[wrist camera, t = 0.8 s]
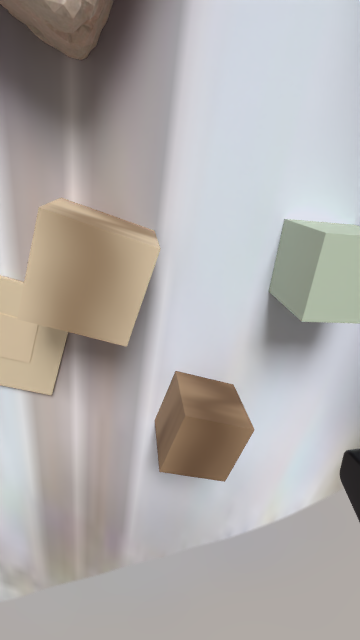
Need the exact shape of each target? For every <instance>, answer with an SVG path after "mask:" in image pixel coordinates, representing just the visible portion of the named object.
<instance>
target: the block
mask: <svg viewBox="0 0 360 640" xmlns="http://www.w3.org/2000/svg"><path fill="white" fill-rule="evenodd" d="M269 292H270V293H271V294H272V295H273V296H274V297H275V298H276V299H277V300H278V301H280V302H281V303H282V304H283V305H284V306H285V307H286V308H287V309H288V310H289V311H290V312H292V313H293V314H294V315H295V316H296V317H297V318H298V319H299V320H300V321H301V322H327V323H359V324H360V226H357V225H350V224H339V223H327V222H315V221H303V220H291V219H284V224H283V228H282V233H281V238H280V242H279V247H278V251H277V256H276V260H275V265H274V270H273V274H272V279H271V283H270V288H269Z"/></svg>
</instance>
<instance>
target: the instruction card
mask: <svg viewBox="0 0 360 640" xmlns="http://www.w3.org/2000/svg"><path fill="white" fill-rule="evenodd" d="M23 286H24V282H22V281H18V280H15V279H11V278H8V277H4V276H0V385H2V386H7V387H12V388H17V389H22V390H27V391H32V392H37V393H42V394H47V395H52V393H53V389H54V385H55V381H56V377H57V374H58V370H59V366H60V362H61V358H62V354H63V351H64V347H65V343H66V339H67V335H68V332H66V331H62V330H58V329H54V328H50V327H46V326H42V325H38V324H34V323H30V322H26V321H22V320H18V319H17V317H18V312H19V307H20V302H21V297H22V291H23Z"/></svg>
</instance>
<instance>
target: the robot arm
mask: <svg viewBox="0 0 360 640" xmlns="http://www.w3.org/2000/svg"><path fill="white" fill-rule="evenodd" d="M340 479H341V482H342V484H343V486H344V489H345V491H346V493H347V495H348V497H349V499H350V502H351V504H352V506H353V508H354V511H355V513H356V515H357V517H358V519H359V522H360V449H353V450H347V451H346V452H345V453H344V456H343V460H342V464H341V468H340Z"/></svg>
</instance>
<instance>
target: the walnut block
mask: <svg viewBox="0 0 360 640" xmlns="http://www.w3.org/2000/svg"><path fill="white" fill-rule="evenodd" d="M155 427H156V439H157V450H158V461H159V472H165V473H171V474H178V475H185V476H191V477H198V478H205V479H211V480H218V481H226V479H227V477H228V475H229V474H230V472H231V470H232V468H233V467H234V465H235V463H236V461H237V460H238V458H239V456H240V454H241V453H242V451H243V449H244V447H245V446H246V444H247V442H248V440H249V439H250V437H251V435H252V433H253V432H254V428H253V426H252V423H251V421H250V419H249V417H248V415H247V413H246V411H245V408H244V406H243V404H242V402H241V400H240V398H239V396H238V393H237V391H236V389H235V387H234V385H233V384H228V383H224V382H220V381H216V380H212V379H207V378H203V377H199V376H195V375H191V374H186V373H182V372H178V371H175V374H174V376H173V378H172V381H171V383H170V386H169V388H168V390H167V393H166V395H165V397H164V400H163V402H162V405H161V407H160V409H159V412H158V414H157V416H156V419H155Z"/></svg>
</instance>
